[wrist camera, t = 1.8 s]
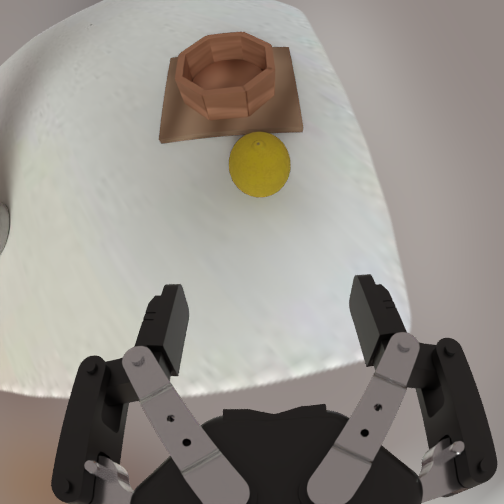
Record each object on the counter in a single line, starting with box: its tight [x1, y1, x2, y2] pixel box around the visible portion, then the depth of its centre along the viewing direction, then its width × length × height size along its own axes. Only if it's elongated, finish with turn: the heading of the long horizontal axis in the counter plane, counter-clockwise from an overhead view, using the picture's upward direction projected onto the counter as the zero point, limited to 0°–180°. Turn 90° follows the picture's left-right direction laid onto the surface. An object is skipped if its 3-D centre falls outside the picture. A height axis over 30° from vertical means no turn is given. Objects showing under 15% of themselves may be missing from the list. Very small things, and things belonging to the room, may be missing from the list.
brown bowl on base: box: [159, 32, 303, 144], centre depth 29 cm, size 16×14×6 cm
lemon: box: [229, 132, 290, 197], centre depth 26 cm, size 6×6×8 cm
